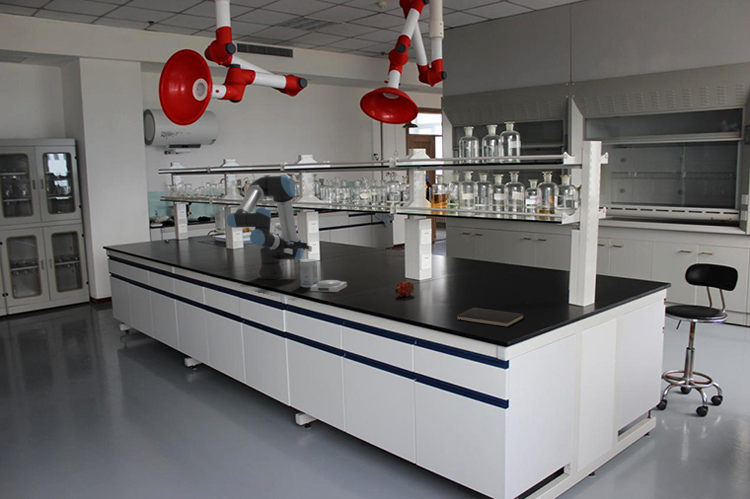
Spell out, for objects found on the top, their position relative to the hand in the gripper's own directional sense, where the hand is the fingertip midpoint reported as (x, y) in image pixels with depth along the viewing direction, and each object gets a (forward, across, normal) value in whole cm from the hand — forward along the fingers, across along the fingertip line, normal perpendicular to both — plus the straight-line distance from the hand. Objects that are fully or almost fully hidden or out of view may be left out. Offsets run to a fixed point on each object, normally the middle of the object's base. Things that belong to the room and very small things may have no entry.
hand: (301, 250), depth 326 cm
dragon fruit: (+10, +60, -29) cm, 67 cm away
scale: (+8, +14, -21) cm, 26 cm away
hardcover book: (-9, +112, -45) cm, 122 cm away
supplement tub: (+9, -1, -19) cm, 21 cm away
